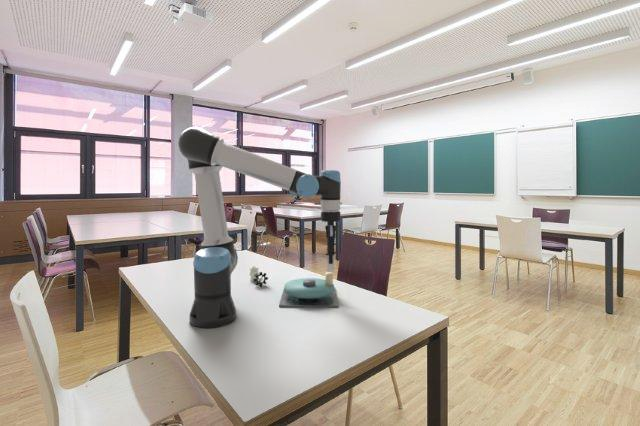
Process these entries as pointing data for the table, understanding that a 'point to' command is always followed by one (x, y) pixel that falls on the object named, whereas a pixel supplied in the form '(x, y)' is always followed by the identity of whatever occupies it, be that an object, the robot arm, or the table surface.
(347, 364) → the table surface
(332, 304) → the wheel stand
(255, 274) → the valve
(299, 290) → the handwheel
